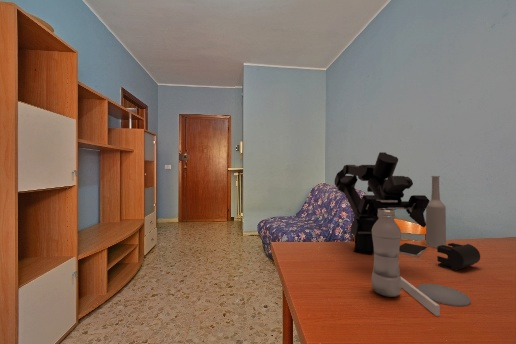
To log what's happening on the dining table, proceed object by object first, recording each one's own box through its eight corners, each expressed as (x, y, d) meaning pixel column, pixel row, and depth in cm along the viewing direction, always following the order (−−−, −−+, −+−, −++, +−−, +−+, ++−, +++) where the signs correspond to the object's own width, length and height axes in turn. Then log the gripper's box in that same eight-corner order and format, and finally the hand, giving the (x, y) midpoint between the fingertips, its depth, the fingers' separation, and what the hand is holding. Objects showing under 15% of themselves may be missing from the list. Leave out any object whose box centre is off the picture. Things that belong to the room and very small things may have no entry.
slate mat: (416, 297, 57) (416, 295, 57) (417, 282, 65) (417, 280, 65) (473, 311, 51) (473, 309, 51) (467, 292, 59) (467, 290, 59)
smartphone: (428, 246, 95) (417, 254, 85) (428, 250, 95) (417, 258, 85) (404, 242, 101) (392, 249, 91) (404, 245, 101) (392, 253, 91)
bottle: (444, 245, 100) (444, 176, 100) (447, 249, 94) (447, 176, 94) (424, 243, 103) (424, 175, 103) (426, 247, 97) (426, 175, 97)
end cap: (463, 274, 70) (463, 250, 70) (436, 266, 77) (436, 244, 77) (480, 268, 75) (480, 246, 75) (453, 261, 81) (453, 240, 81)
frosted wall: (439, 315, 49) (439, 305, 49) (435, 315, 49) (435, 305, 49) (393, 278, 67) (393, 270, 67) (390, 278, 67) (390, 270, 67)
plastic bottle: (398, 289, 61) (398, 208, 61) (405, 303, 54) (404, 212, 54) (369, 285, 63) (369, 207, 63) (372, 298, 56) (372, 210, 56)
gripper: (359, 168, 74) (381, 203, 61) (421, 168, 74) (456, 203, 61) (351, 197, 80) (369, 234, 67) (408, 197, 80) (437, 234, 67)
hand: (407, 226), depth 65 cm, fingers open, 9 cm apart
